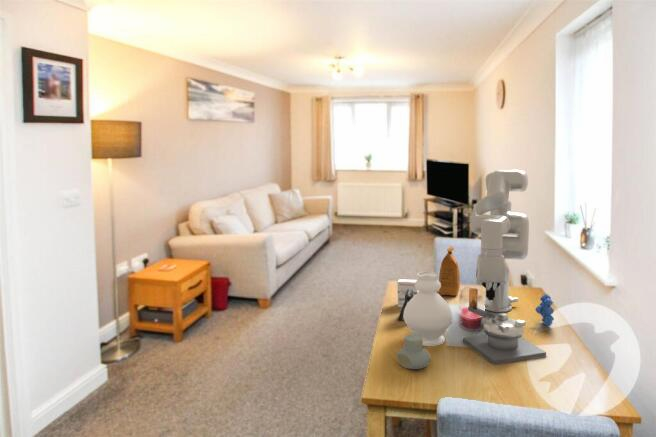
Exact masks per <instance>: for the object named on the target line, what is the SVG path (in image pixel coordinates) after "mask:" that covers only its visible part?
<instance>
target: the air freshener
mask: <svg viewBox="0 0 656 437" xmlns="http://www.w3.org/2000/svg"><path fill="white" fill-rule="evenodd" d="M403 340H404V342H403V343H404V344H403V347H402V348H400V349H399V350H398V352H397V354H396V360H397V362H398V363H399V364H400V365H401V366H402V367H403V368H406V369H407V370H420V369H423V368H425V367H427V366H428V365H429V363H430V361H431V354H430V353H429V352H428V350H427V349H425V348H424V347H423V345H422V337H421V336H420V335H417V334H414V333H409V334H406V335H405V336H404V338H403Z"/></svg>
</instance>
